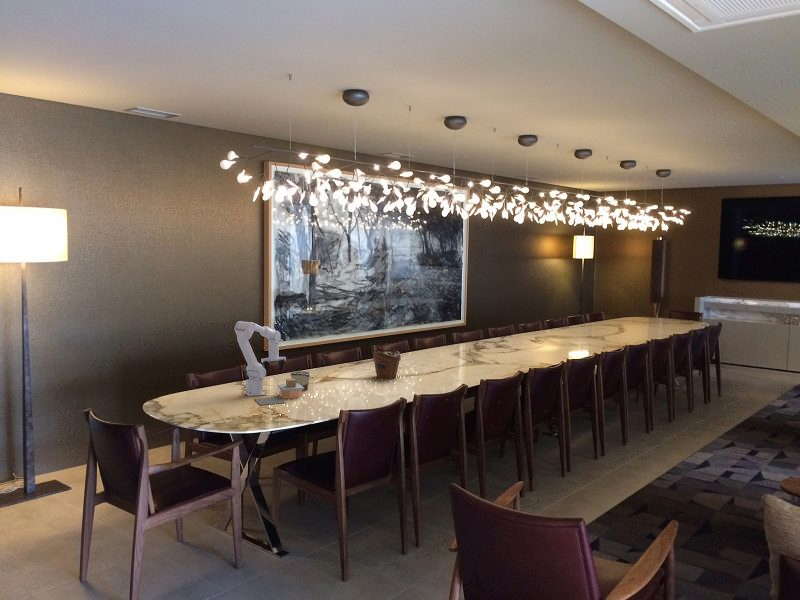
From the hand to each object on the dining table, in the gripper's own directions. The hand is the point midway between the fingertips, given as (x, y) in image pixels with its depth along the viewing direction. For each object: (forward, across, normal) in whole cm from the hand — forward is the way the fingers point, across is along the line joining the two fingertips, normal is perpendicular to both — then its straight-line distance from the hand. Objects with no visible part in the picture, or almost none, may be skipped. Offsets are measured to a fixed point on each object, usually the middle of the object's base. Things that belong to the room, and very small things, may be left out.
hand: (273, 373), depth 380 cm
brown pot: (+10, +77, +1) cm, 78 cm away
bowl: (+9, +3, -20) cm, 22 cm away
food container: (+10, +15, -6) cm, 19 cm away
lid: (+5, +3, -20) cm, 21 cm away
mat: (+9, -12, -27) cm, 31 cm away
